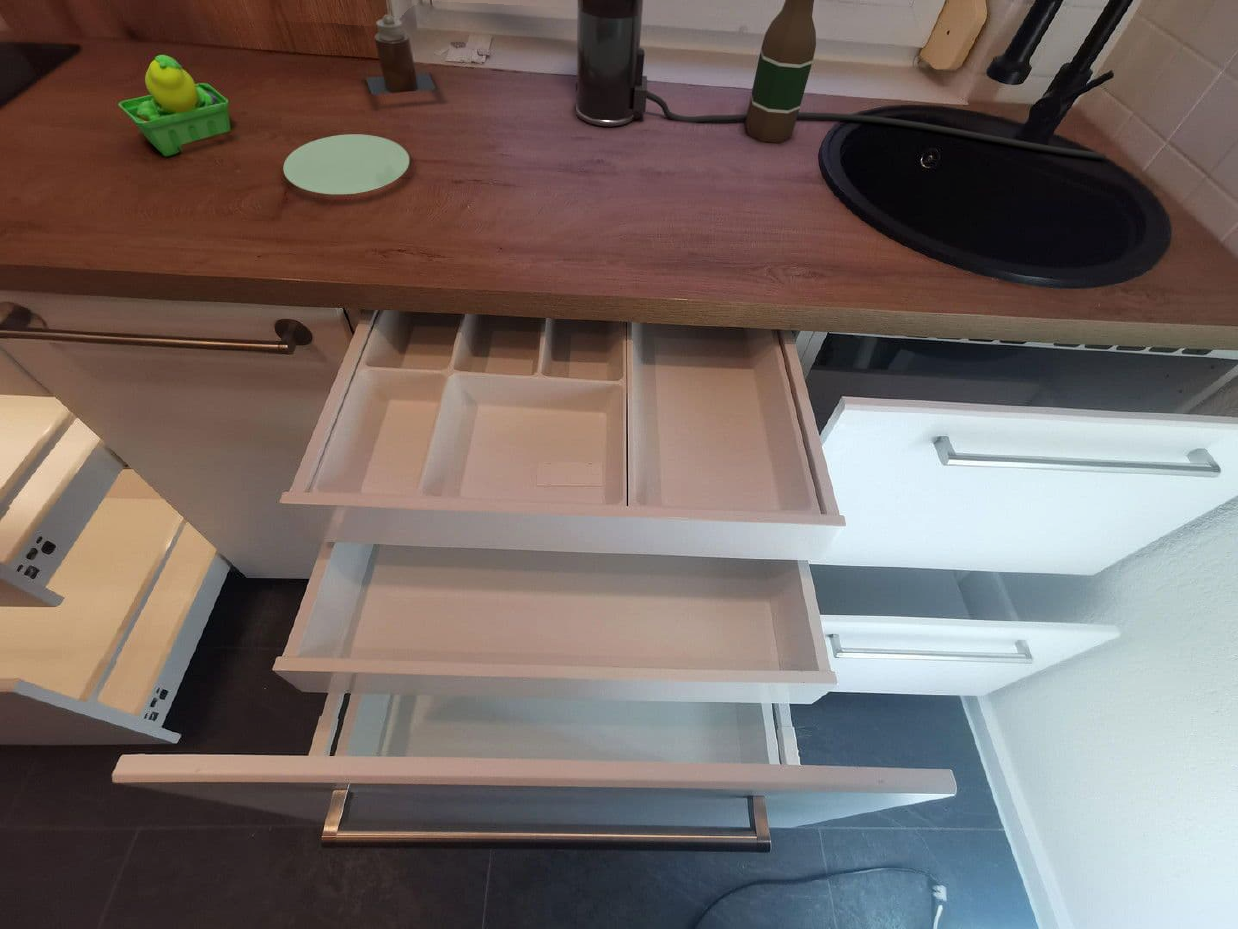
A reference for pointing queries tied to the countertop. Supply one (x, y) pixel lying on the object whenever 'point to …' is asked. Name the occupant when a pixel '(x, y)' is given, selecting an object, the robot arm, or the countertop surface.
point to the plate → (346, 164)
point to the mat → (378, 87)
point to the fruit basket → (176, 108)
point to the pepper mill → (395, 56)
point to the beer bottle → (782, 73)
